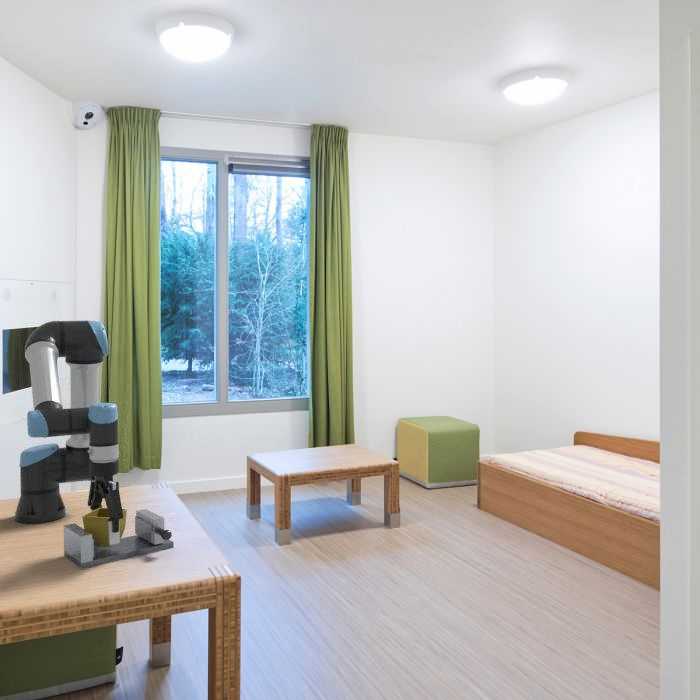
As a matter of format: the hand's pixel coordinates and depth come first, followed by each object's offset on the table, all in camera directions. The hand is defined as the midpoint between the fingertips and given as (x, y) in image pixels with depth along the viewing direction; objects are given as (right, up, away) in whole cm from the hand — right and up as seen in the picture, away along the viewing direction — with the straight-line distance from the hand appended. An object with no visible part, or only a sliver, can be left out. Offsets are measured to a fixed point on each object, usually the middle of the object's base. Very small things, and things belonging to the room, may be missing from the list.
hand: (105, 538), depth 190 cm
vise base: (+3, -4, +3) cm, 6 cm away
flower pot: (0, -2, 0) cm, 2 cm away
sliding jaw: (+12, -2, +6) cm, 13 cm away
